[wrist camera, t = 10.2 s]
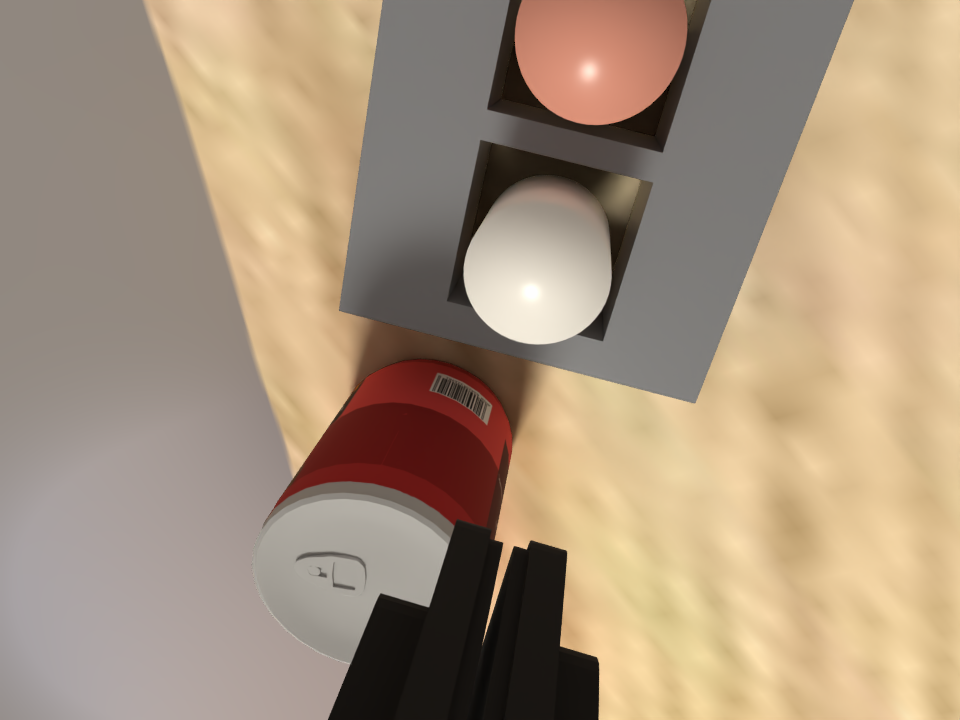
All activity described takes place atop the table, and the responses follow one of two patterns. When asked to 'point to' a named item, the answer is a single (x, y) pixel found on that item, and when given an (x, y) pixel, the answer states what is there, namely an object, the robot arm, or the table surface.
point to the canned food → (382, 501)
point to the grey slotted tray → (653, 159)
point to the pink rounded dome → (599, 54)
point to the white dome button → (540, 261)
